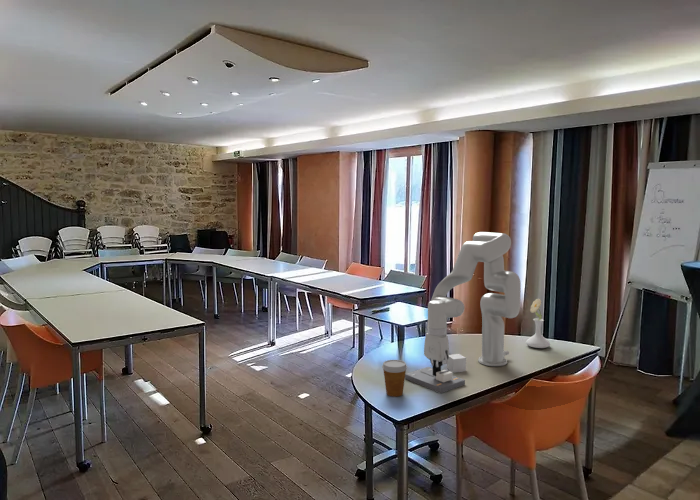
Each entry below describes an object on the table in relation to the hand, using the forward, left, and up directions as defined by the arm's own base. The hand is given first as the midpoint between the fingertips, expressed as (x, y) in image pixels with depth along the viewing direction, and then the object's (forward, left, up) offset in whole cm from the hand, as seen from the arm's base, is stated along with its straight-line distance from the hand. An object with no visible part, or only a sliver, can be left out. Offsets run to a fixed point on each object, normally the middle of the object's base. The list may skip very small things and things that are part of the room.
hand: (436, 375), depth 204 cm
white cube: (-18, -5, -3) cm, 19 cm away
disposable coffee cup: (+21, -2, -3) cm, 21 cm away
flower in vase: (-74, -1, -3) cm, 74 cm away
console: (0, -1, -3) cm, 3 cm away
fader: (0, +4, -1) cm, 4 cm away
